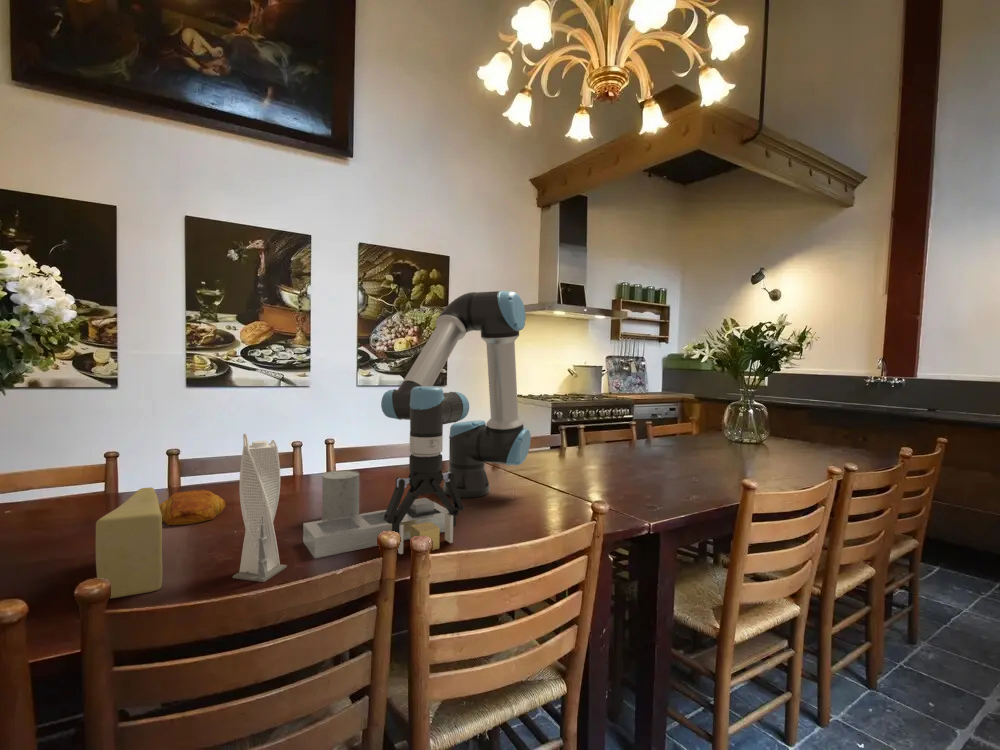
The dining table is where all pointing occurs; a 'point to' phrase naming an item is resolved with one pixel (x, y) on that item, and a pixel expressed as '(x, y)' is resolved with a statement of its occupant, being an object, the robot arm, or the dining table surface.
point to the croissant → (191, 507)
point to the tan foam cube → (426, 532)
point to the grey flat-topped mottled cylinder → (340, 494)
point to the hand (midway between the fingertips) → (424, 546)
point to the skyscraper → (259, 510)
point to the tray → (365, 528)
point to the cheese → (131, 545)
